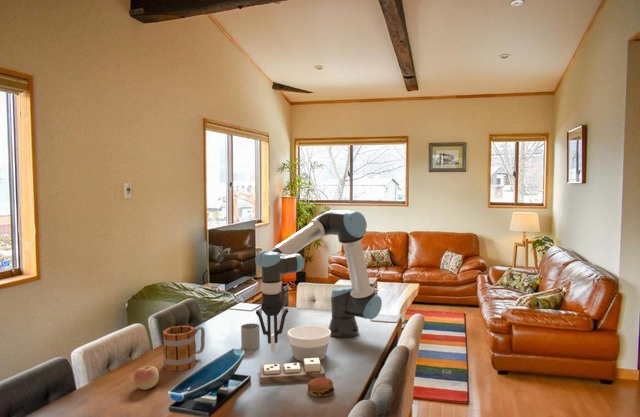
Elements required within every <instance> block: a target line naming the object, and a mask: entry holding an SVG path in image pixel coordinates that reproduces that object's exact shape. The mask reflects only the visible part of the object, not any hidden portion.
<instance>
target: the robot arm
mask: <svg viewBox="0 0 640 417" xmlns="http://www.w3.org/2000/svg"><path fill="white" fill-rule="evenodd" d="M367 226H368V224H367V220H366V218H365V215H363V214H362V213H361V212H359V211H356V210H342V209H341V210H338V209H332V210H328V211H325V212H323V213H320V214H319V215H317V216H315V217H313V218H312V219H311V220H309V222H308V224H307V225H305V226H304V227H302V228H301V229H299V230H298V231H297V232H295V233H293V234H292V235H290V236H288V237H287V238H286V239H284V240H282V241H281V242H279V243H277V244H276V245H275V246H273V247H272V248H270V249H269V250H260V251H259V252H258V253H256V255H255V264H256V266H257V267H258V268H260V269H261V271H260V272H261V293H262V294H261V305H260V308H258V309H255V314H256V315H257V317H258V319H259V323H260V324H259V325H260V327H261V331H262V334H263V335H265V336H267V343H268V344H269V345H270V353H275V352H276V347H275V346H276V344H278V342H279V341H278V338H279V337H278V336H279V335H280V334H282V333H283V330H284V325H285V320H286V316H287V314H288V312H289V308H288V307H285V306H283V303H282V276H285V275H290V274H294V273H298V272H301V271H302V270H303V269H304V267H305V259H304V257H303V256H302V254H299V253H298V252H299V251H301V250H302V249H303V248H305V247H306V246H309V245H310V244H311V243H312V242H314V241H315V240H317V239H322V238H323V237H325V236H328V235H329V236H330V235H333V236H337V237H338V238H337V239H338V242H339V243H340V244H341V245H343V250H344V255H345V261H346V264H347V269H348V275H349V279H350V284H351V286H341V287H340V286H339V287H336V288H333V289H332V290H331V297H330V299H331V301H330V304H331V306H330V307H331V320H330V322H329V326H328V329H329V330H330V331H331V335H330V337H331V336H332V337H335V338H340V339H341V338H343V339H345V338H348V339H349V338H353V337H357V336H358V335H359V326H358V323H357V320H356V317H359V318H362V319H365V320H374V319H375V318H377V316H379V314H380V313H381V310H382V304H383V302H382V301H383V300H382V298H381V296H379V295H377V294H376V292H375V288H374V287H373V286H371V284H370V283H371V282H370V279H369V273H368V268H367V263H366V260H365V253H364V247H363V243H362V241H363V239H364V238H365V237H364V235H365V234H366V232H367V228H368V227H367ZM263 313H264V314H265V316H266V318H267V319H266V320H267V321H266V322H267V323H266V324H267V325H265V323H264V318H263V315H262V314H263ZM280 313H282V314H281V319H280V324H279V328H278V315H279V314H280ZM271 317H273V331H274V332H273V333H272V331H271V330H272V329H271V326H272V324H271ZM266 326H267V330H266Z"/></svg>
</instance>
